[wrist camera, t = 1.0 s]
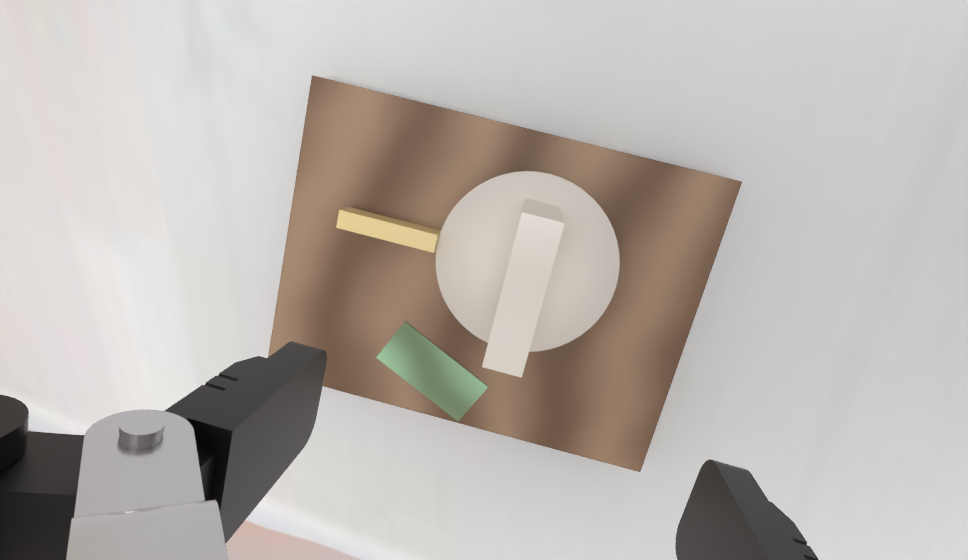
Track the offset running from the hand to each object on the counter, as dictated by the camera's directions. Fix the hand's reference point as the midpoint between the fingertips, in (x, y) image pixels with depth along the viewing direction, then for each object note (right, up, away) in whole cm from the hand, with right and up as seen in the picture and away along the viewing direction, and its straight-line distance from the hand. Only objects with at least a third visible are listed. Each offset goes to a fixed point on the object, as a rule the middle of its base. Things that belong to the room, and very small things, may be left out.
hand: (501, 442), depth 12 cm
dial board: (0, +4, +23) cm, 23 cm away
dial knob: (-1, +5, +20) cm, 21 cm away
